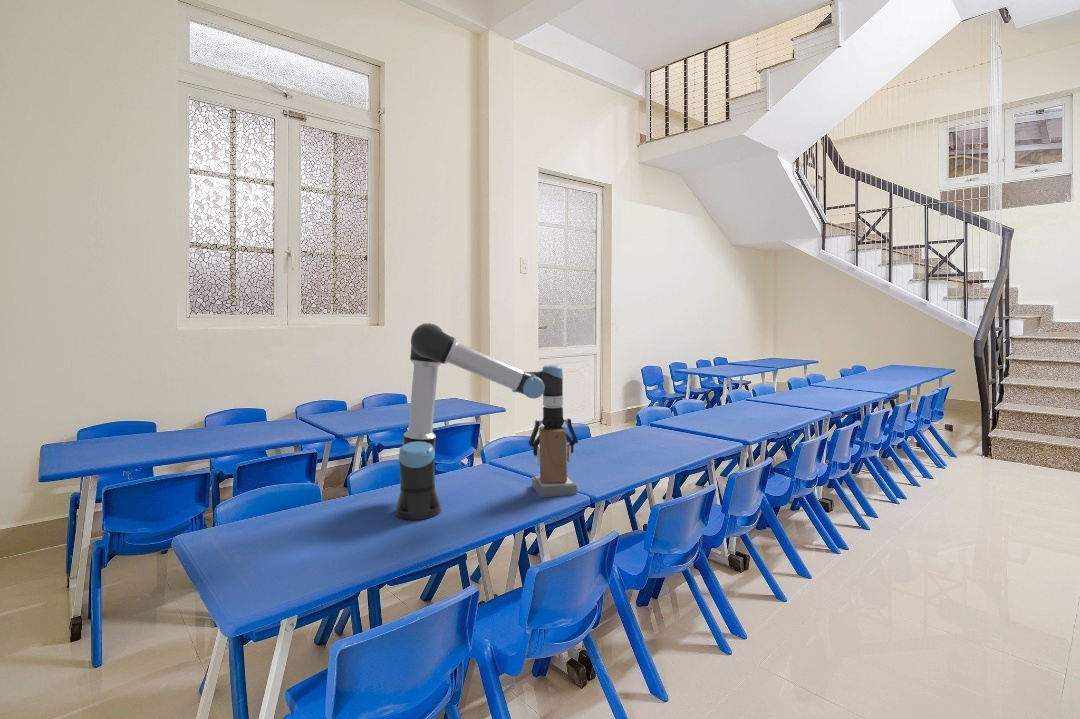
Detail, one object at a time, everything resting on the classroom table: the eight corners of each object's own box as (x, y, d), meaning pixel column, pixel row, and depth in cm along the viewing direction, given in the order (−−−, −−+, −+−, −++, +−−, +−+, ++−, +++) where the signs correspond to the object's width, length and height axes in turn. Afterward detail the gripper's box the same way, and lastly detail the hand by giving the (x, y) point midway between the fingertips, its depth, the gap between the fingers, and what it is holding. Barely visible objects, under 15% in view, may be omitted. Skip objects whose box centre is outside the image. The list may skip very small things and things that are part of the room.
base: (540, 497, 211) (540, 486, 211) (532, 486, 225) (532, 476, 225) (576, 494, 214) (576, 483, 214) (566, 483, 228) (566, 473, 228)
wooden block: (567, 483, 214) (566, 430, 212) (540, 484, 214) (539, 431, 212) (565, 475, 224) (564, 425, 222) (540, 476, 224) (539, 425, 222)
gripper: (523, 409, 210) (524, 467, 212) (586, 406, 216) (586, 462, 218) (519, 406, 218) (520, 462, 220) (580, 403, 223) (580, 457, 225)
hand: (553, 462), depth 219 cm, fingers open, 12 cm apart
